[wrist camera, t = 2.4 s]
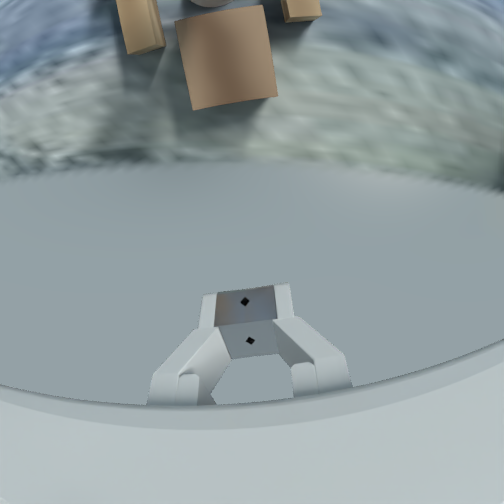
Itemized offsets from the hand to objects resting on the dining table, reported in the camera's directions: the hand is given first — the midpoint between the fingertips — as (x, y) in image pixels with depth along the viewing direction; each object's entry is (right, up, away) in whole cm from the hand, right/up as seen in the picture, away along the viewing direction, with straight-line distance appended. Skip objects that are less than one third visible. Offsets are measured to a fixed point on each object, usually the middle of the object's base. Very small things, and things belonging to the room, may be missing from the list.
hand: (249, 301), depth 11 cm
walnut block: (-2, +18, +10) cm, 21 cm away
